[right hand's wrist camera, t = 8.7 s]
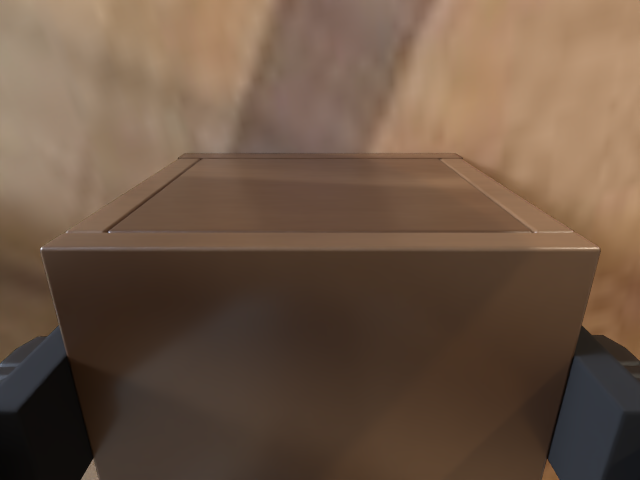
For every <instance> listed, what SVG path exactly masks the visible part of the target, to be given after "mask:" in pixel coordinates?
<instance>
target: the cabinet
mask: <svg viewBox="0 0 640 480" xmlns="http://www.w3.org/2000/svg"><path fill="white" fill-rule="evenodd" d="M600 252H601V250H600V247H599V246H597V245H595V244H594V243H592V242H591V241H589V240H588V239H586V238H585V237H583V236H581V235H580V234H578V233H575V232H574V231H573V230H572V229H570V228H569V227H567V226H565V225H564V224H562V223H561V222H559V221H558V220H556V219H555V218H553V217H551V216H550V215H548V214H547V213H545V212H544V211H542V210H540V209H539V208H537V207H536V206H534V205H533V204H531V203H530V202H528V201H526V200H525V199H523V198H522V197H520V196H519V195H517V194H516V193H514V192H512V191H511V190H509V189H508V188H506V187H505V186H503V185H502V184H500V183H498V182H497V181H495V180H494V179H492V178H491V177H489V176H488V175H486V174H484V173H483V172H481V171H480V170H478V169H477V168H475V167H473V166H472V165H470V164H469V163H467V162H466V161H464V160H463V158H462V157H460V156H459V155H457V154H183V155H182V156H180V157H178V160H176V161H175V162H173V163H171V164H170V165H168V166H167V167H165V168H164V169H162V170H161V171H159V172H157V173H156V174H154V175H153V176H151V177H150V178H148V179H146V180H145V181H143V182H142V183H140V184H139V185H137V186H136V187H134V188H132V189H131V190H129V191H128V192H126V193H125V194H123V195H122V196H120V197H118V198H117V199H115V200H114V201H112V202H111V203H109V204H108V205H106V206H104V207H103V208H101V209H100V210H98V211H97V212H95V213H94V214H92V215H90V216H89V217H87V218H86V219H84V220H83V221H81V222H79V223H78V224H76V225H75V226H73V227H72V228H70V229H69V230H67V231H66V233H63V234H61V235H59V236H58V237H56V238H54V239H53V240H51V241H50V242H48V243H47V244H45V245H44V246H42V247H41V248H40V253H41V257H42V261H43V265H44V269H45V273H46V277H47V280H48V284H49V288H50V292H51V296H52V300H53V304H54V308H55V311H56V315H57V319H58V323H59V327H60V331H61V335H62V338H63V342H64V346H65V350H66V354H67V358H68V362H69V366H70V369H71V373H72V377H73V381H74V385H75V389H76V393H77V396H78V400H79V404H80V408H81V412H82V416H83V420H84V424H85V427H86V431H87V435H88V439H89V443H90V447H91V451H92V455H93V458H94V462H95V466H96V470H97V474H98V478H99V480H542V476H543V472H544V468H545V464H546V460H547V457H548V453H549V449H550V445H551V441H552V437H553V433H554V430H555V426H556V422H557V418H558V414H559V410H560V406H561V403H562V399H563V395H564V391H565V387H566V383H567V379H568V376H569V372H570V368H571V364H572V360H573V356H574V352H575V349H576V345H577V341H578V337H579V333H580V329H581V325H582V322H583V318H584V314H585V310H586V306H587V302H588V298H589V295H590V291H591V287H592V283H593V279H594V275H595V271H596V268H597V264H598V260H599V256H600Z"/></svg>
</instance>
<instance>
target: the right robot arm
mask: <svg viewBox="0 0 640 480" xmlns="http://www.w3.org/2000/svg"><path fill="white" fill-rule="evenodd" d="M92 459H93V455H92V451H91V447H90V443H89V439H88V435H87V431H86V427H85V424H84V420H83V416H82V412H81V408H80V404H79V400H78V396H77V393H76V389H75V385H74V381H73V377H72V373H71V369H70V366H69V362H68V358H67V354H66V350H65V346H64V342H63V338H62V335H61V331H60V327H59V326H58V327H57V328H56V329H55V330H54V331H53V332H52V333H51V334H49V335H48V336H47V337H36V338H34V339H33V340H31V341H29V342H27V343H26V344H24V345H22V346H20V347H19V348H17V349H15V350H14V351H13V352H12V353H11V354H10V355H9V356H8V357H7V358H6V359H5V360H3V361H2V362H1V363H0V480H81V478H82V477H83V475H84V473H85V472H86V470H87V468H88V466H89V465H90V463H91V461H92ZM547 459H548V460H549V462H550V464H551V466H552V467H553V469H554V471H555V472H556V474H557V476H558V478H559V479H560V480H640V361H639V360H638V359H637V358H636V357H635V356H634V355H633V354H632V353H630V352H629V351H628V350H627V349H626V348H625V347H623V346H621V345H619V344H618V343H616V342H614V341H612V340H611V339H609V338H607V337H605V336H604V335H591V334H590V333H589V332H588V331H587V330H586V329H585V328H584V327H583V326H582V325H581V329H580V333H579V337H578V341H577V345H576V349H575V352H574V356H573V360H572V364H571V368H570V372H569V376H568V379H567V383H566V387H565V391H564V395H563V399H562V403H561V406H560V410H559V414H558V418H557V422H556V426H555V430H554V433H553V437H552V441H551V445H550V449H549V453H548V457H547Z"/></svg>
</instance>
